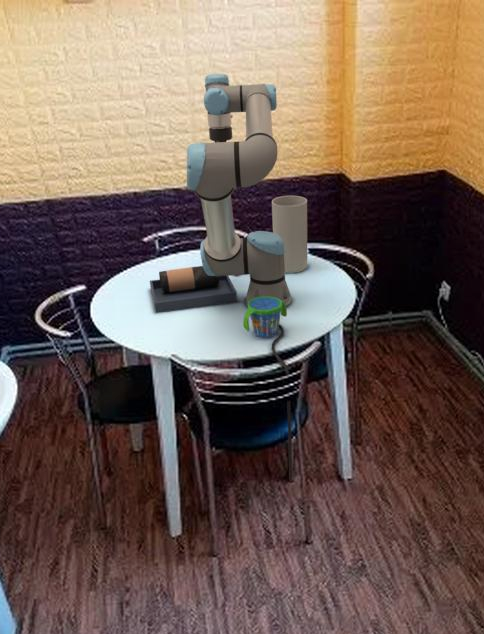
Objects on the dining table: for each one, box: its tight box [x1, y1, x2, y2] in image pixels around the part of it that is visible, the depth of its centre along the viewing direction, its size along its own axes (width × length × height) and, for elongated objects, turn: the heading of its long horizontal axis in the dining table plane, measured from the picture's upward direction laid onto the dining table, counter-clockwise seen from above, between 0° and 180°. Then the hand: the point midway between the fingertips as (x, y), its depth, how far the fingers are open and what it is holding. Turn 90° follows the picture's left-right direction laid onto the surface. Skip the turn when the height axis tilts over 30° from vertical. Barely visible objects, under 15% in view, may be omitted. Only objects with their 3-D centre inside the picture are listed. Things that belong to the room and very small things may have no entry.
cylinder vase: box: [271, 195, 308, 274], centre depth 244 cm, size 12×12×25 cm
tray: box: [149, 275, 238, 314], centre depth 232 cm, size 20×28×4 cm
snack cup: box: [242, 296, 288, 338], centre depth 204 cm, size 16×10×10 cm
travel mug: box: [158, 265, 219, 293], centre depth 234 cm, size 8×8×20 cm
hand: (225, 192), depth 229 cm, fingers open, 13 cm apart
